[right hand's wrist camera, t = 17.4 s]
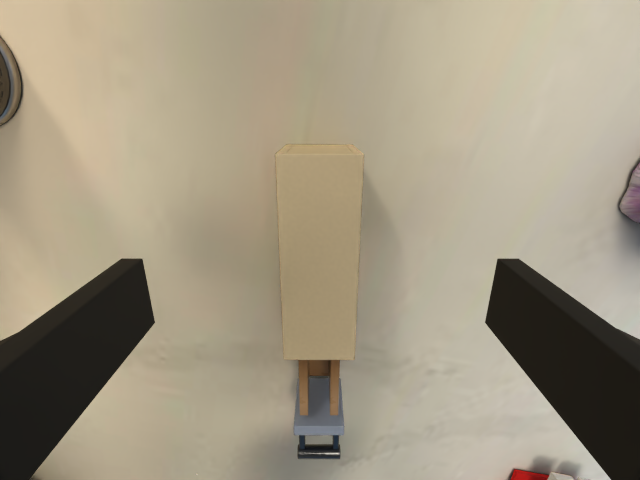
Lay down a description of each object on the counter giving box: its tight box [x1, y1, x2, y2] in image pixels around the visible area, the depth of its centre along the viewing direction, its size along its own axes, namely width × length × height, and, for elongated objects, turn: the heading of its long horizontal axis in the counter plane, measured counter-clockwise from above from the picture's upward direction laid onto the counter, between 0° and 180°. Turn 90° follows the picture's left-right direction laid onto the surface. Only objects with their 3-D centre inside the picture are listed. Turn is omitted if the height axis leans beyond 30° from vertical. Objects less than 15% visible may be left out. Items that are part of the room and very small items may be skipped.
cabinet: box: [275, 144, 364, 360], centre depth 30 cm, size 17×6×8 cm, turn 0°
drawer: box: [294, 360, 344, 459], centre depth 34 cm, size 22×5×6 cm, turn 0°
